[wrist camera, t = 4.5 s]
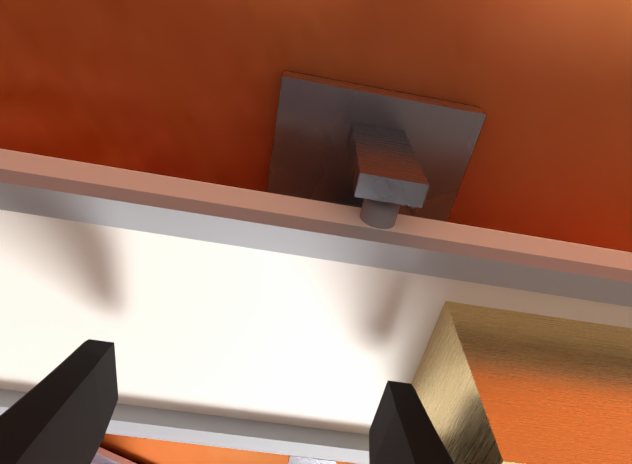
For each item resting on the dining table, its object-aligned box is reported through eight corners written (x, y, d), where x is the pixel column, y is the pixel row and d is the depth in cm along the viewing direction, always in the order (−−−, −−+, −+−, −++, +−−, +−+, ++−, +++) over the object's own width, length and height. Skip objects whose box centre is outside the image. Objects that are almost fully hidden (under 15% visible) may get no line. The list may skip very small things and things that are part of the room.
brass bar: (396, 420, 15) (422, 585, 11) (445, 300, 12) (503, 461, 8) (617, 448, 15) (717, 614, 11) (708, 339, 13) (877, 506, 9)
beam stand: (243, 372, 20) (223, 473, 16) (284, 70, 13) (266, 115, 10) (376, 390, 20) (387, 493, 17) (478, 106, 14) (539, 164, 10)
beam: (-80, 375, 15) (-120, 416, 14) (-188, 98, 11) (-265, 118, 9) (662, 468, 17) (692, 512, 16) (852, 272, 13) (917, 310, 11)
